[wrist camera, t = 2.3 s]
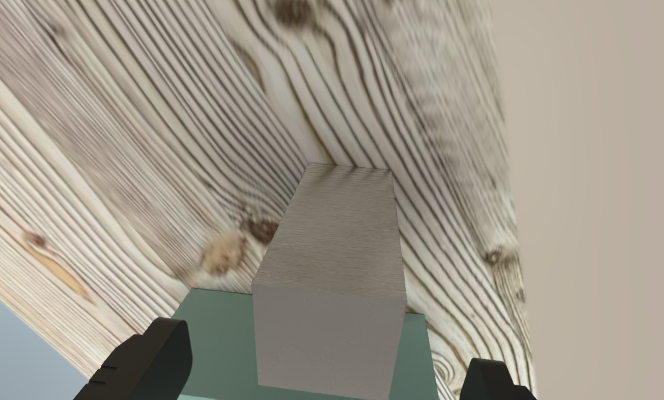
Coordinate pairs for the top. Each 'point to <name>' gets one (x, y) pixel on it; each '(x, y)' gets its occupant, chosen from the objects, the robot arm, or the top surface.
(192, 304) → the box
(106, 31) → the top surface
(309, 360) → the grey upright brick
